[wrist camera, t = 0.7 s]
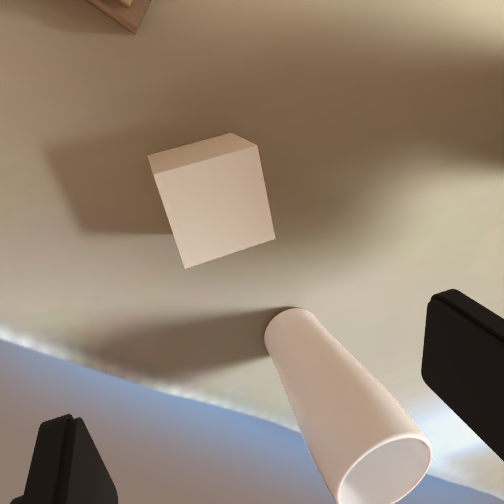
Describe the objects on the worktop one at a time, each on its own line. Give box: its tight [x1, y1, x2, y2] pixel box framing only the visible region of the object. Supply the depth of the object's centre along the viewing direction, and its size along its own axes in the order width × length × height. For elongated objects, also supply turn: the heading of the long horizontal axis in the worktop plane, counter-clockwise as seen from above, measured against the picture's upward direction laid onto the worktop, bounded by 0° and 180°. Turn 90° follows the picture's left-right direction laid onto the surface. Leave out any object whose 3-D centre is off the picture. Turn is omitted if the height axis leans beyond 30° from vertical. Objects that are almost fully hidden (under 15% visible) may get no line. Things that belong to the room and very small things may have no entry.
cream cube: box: [147, 133, 276, 269], centre depth 25 cm, size 6×6×6 cm
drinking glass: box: [264, 308, 432, 504], centre depth 29 cm, size 7×7×15 cm
